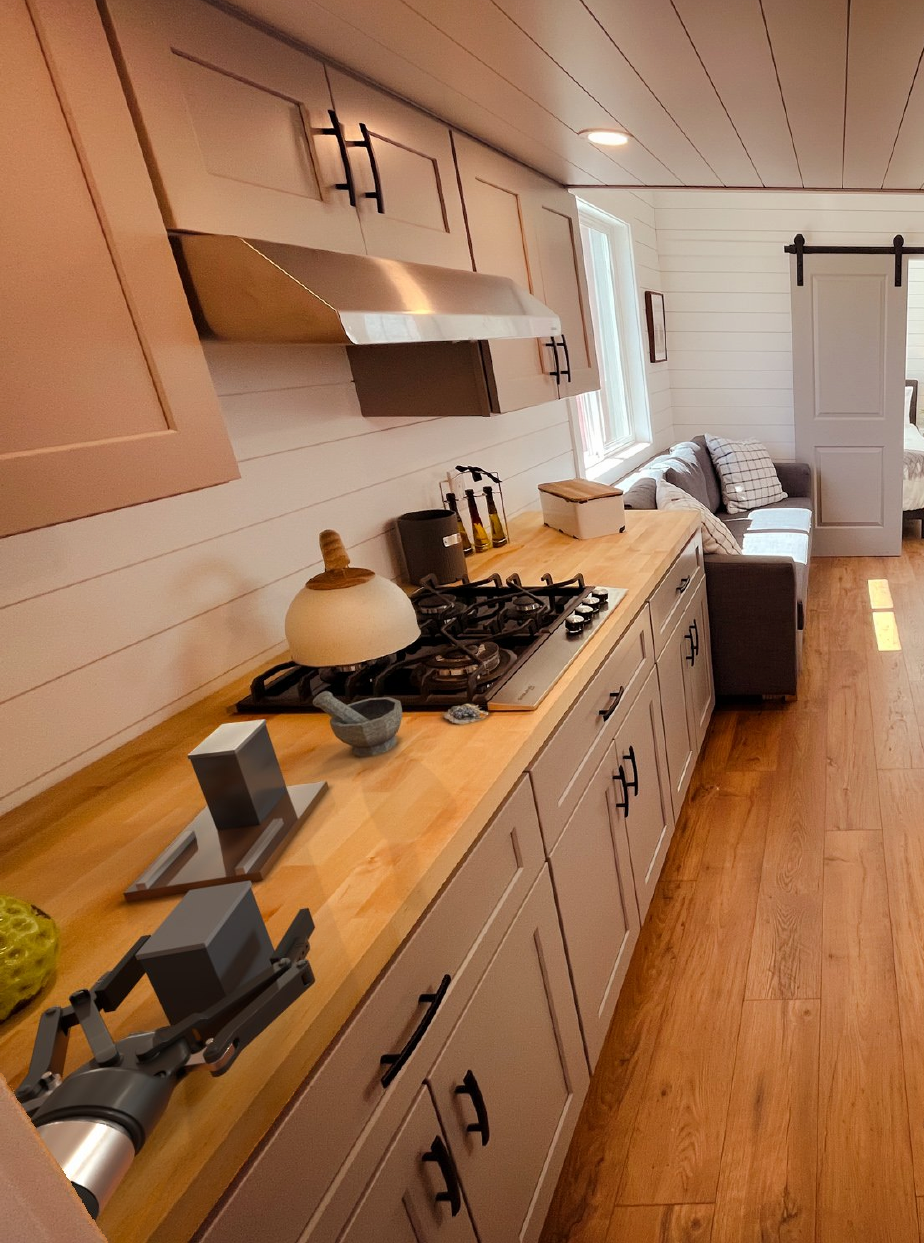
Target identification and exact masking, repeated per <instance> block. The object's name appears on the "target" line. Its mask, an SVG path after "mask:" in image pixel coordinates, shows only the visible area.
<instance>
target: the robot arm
mask: <svg viewBox="0 0 924 1243" xmlns="http://www.w3.org/2000/svg"><path fill="white" fill-rule="evenodd" d="M315 929H316V925H315V922H314V919H313V916H312V913H311V911H310V907H305V908H300V909H299V910H298V912H297V914H296V915H295V917H294V919H293V920H292V922H291V923H290V925H289V927H288V928H287V930H286V931H285V933H284V935H282V936H283V937H282V938H281V940H280V941H279V943H278V945H277V946H276V948H274V950H275V951H274V953H273V954H272V956H271V957H270V962H271V965H272V966H270V967H269V968H267V969H266V970H264V971H263V972H261V973H260V974H259V975H257V976H256V977H254V978H253V979H251V980H250V981H248V982H247V983H245V984H244V985H242V986H241V987H239V988H238V989H236V990H235V991H233V992H232V993H230V994H229V995H227V996H226V997H224V998H223V999H221V1000H220V1001H218V1002H217V1003H215V1004H214V1005H212V1006H211V1007H209V1008H208V1009H207V1010H205V1011H204V1012H202V1013H193V1014H191V1015H190V1016H188V1017H187V1018H185V1019H184V1020H182V1021H181V1022H179V1023H178V1024H176V1025H175V1026H174V1025H170V1024H169V1025H166V1026H162V1027H159V1028H156V1029H153V1030H141V1031H136V1032H131V1033H129V1034H128V1036H127V1037H123V1038H122V1039H119V1040H118V1041H116V1042H115V1041H114V1039H113V1036H112V1035H111V1033H110V1031H109V1029H108V1027H107V1025H106V1022H105V1020H104V1019H103V1016H102V1015H101V1011H102V1010H103V1012H104V1014H106V1013H113V1012H116V1011H117V1010H118V1008H119V1007H120V1006H121V1004H122V1003H123V1002H124V1001H125V999H126V998H127V997H128V996H129V995H130V993H132V990H133V989H134V988H135V987H136V986H137V984H138V983H139V982H140V981H141V979H142V978H143V977H144V975H145V974H146V972H145V970H144V968H143V965H142V963H141V961H140V960H137V958H136V956H135V955H136V954H137V952H138V951H139V950H140V949H141V948H142V946H143V945H144V944H145V943H146V942H147V940H148V939H149V938H150V937H151V936H152V934H146V935H141V936H140V937H139V938H138V939H137V940H136V941H135V943H134V944H133V945H132V946H131V947H130V948H129V950H128V951H127V952H126V953H125V954H124V956H123V957H122V958H121V959H120V961H118V962H117V964H116V965H115V966H114V967H113V968H112V969H111V970H108V971H106V972H105V973H103V974H102V975H101V976H100V977H99V978H98V979H97V981H95V983H94V984H93V985H92V986H91V988H90V989H88V988H81V989H78V990H76V991H74V992H73V993H72V994H70V995H69V997H68V1001H69V1002H70V1005H67V1006H64V1007H62V1006H61V1005H54V1006H51V1007H49V1008H47V1009H46V1010H44V1011H43V1012H42V1013H41V1015H40V1019H39V1022H38V1027H37V1032H36V1036H35V1040H34V1043H33V1044H34V1045H33V1049H32V1053H31V1059H30V1064H29V1067H28V1072H27V1074H26V1076H25V1077H24V1078H23V1079H22V1081H21V1083H20V1084H19V1085H18V1086H17V1088H15V1091H14V1092H13V1094H15V1096H16V1098H17V1100H18V1101H19V1102H20V1103H21V1106H22V1107H23V1108H24V1110H25V1111H26V1113H27V1115H28V1116H29V1117H30V1118H29V1119H31V1122H32V1123H33V1124H34V1126H35V1127H36V1130H37V1132H38V1133H39V1134H40V1136H41V1139H42V1140H43V1141H44V1143H46V1147H47V1148H48V1149H49V1151H50V1152H51V1154H52V1155H53V1157H54V1158H55V1159H56V1161H57V1163H59V1165H60V1167H61V1168H62V1170H63V1171H64V1173H65V1174H66V1177H67V1178H68V1179H69V1180H70V1181H71V1183H72V1186H73V1187H74V1188H75V1190H76V1192H77V1194H78V1196H79V1197H80V1198H81V1199H82V1203H84V1205H85V1207H86V1209H87V1211H88V1213H89V1214H90V1215H91V1217H92V1219H94V1220H95V1223H96V1222H97V1220H98V1219H99V1217H100V1216H101V1213H102V1212H103V1211H104V1209H105V1207H106V1206H107V1204H108V1203H109V1201H110V1199H111V1198H112V1196H113V1195H114V1193H115V1191H117V1188H118V1187H119V1185H120V1183H121V1182H122V1181H123V1179H124V1177H125V1175H126V1174H127V1172H128V1171H129V1170H130V1167H131V1166H132V1164H133V1162H134V1160H135V1157H136V1156H137V1155H138V1154H140V1152H141V1151H142V1150H143V1148H144V1146H145V1145H146V1143H147V1142H148V1139H150V1136H151V1135H152V1133H153V1132H154V1130H155V1129H156V1127H157V1125H158V1124H159V1122H160V1121H161V1119H162V1117H163V1116H164V1114H165V1113H166V1111H167V1108H168V1106H169V1103H170V1101H171V1098H172V1095H173V1092H174V1090H175V1089H176V1087H177V1086H179V1084H180V1083H181V1082H182V1081H183V1080H185V1079H186V1078H187V1077H188V1076H189V1075H191V1073H197V1072H205V1071H206V1072H207V1071H209V1074H210V1075H211V1077H212V1078H218V1077H221V1076H223V1075H225V1074H226V1073H227V1072H228V1071H229V1070H230V1068H232V1066H233V1064H234V1063H235V1062H236V1060H237V1059H238V1057H239V1055H240V1054H241V1053H242V1052H243V1050H244V1049H245V1048H247V1047H248V1046H249V1045H250V1044H251V1043H252V1042H253V1041H254V1040H256V1038H257V1037H259V1035H260V1034H262V1033H263V1032H264V1031H265V1030H266V1029H267V1028H268V1027H269V1026H270V1025H271V1024H272V1023H273V1022H274V1021H276V1019H278V1018H279V1017H280V1016H281V1015H282V1014H283V1013H284V1012H285V1011H287V1009H288V1008H289V1007H290V1006H292V1005H293V1004H294V1003H295V1002H296V1001H297V1000H298V999H299V998H300V997H301V996H302V995H303V994H305V992H306V991H307V990H308V989H310V988H311V987H312V986H313V985H314V984H315V983H316V977H315V974H314V972H313V969H312V965H311V963H310V960H309V959H308V958H307V956H308V954H309V952H310V951H311V945H310V941H309V940H310V937H311V936H312V934H313V933H314V931H315ZM78 1025H80V1027H81V1029H82V1032H83V1033H84V1035H85V1038H86V1040H87V1043H88V1045H89V1046H88V1047H89V1048H90V1050H91V1053H92V1054H93V1058H91V1059H90V1060H88V1061H87V1062H86V1063H84V1064H82V1065H81V1066H80V1067H78V1068H77V1069H75V1070H74V1071H72V1072H71V1073H70V1074H69V1075H67V1076H66V1077H65V1078H64V1079H63V1077H64V1071H65V1064H66V1059H67V1054H68V1047H69V1043H70V1042H69V1041H70V1037H71V1036H70V1035H71V1031H72V1027H75V1026H78ZM191 1030H193V1033H194V1035H195V1037H196V1042H195V1043H194V1044H193V1045H191V1046H189V1043H188V1040H187V1038H186V1036H185V1034H186V1033H188V1032H189V1031H191Z"/></svg>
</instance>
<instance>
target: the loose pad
mask: <svg viewBox="0 0 924 1243" xmlns="http://www.w3.org/2000/svg"><path fill="white" fill-rule="evenodd" d="M252 886H253V882H251V881H244V882H238V883H232V884H225V885H219V886H213V887H207V888H200V889H194V890H189V891H188V893H185V895H184V896H183V897H182V898H181V900H180V901H179V902H178V903H177V905H175V906H174V908H173V909H172V910H171V912H170V913H168V915H167V916H166V917H165V919H164V920H162V922H161V923H160V925H159V926H158V927H157V928H156V929H155V931H154V932H153V933H152V934H151V937H150V938H149V939H148V940H147V942H146V943H145V944H144V945H143V946H142V948H141V949H140V950H139V951H138V952H137V954H136V955H135V956H136V958H137V960H140V961H141V963H142V965H143V968H144V970H145V972H146V973H145V974H146V976H147V978H148V980H149V983H150V985H151V987H152V989H153V991H154V994H155V996H156V998H157V999H158V1002H159V1004H160V1006H161V1008H162V1010H163V1012H164V1015H165V1017H166V1019H167V1021H168V1023H169V1026H170V1025H174V1026H175V1025H176V1024H178V1023H179V1022H181V1021H182V1020H184V1019H185V1018H187V1017H188V1016H190V1015H191V1014H193V1013H202V1012H204V1011H205V1010H207V1009H208V1008H209V1007H211V1006H212V1005H214V1004H215V1003H217V1002H218V1001H220V1000H221V999H223V998H224V997H226V996H227V995H229V994H230V993H232V992H233V991H235V990H236V989H238V988H239V987H241V986H242V985H244V984H245V983H247V982H248V981H250V980H251V979H253V978H254V977H256V976H257V975H259V974H260V973H261V972H263V971H264V970H266V969H267V968H269V967H270V966H272V965H271V962H270V957H271V956H272V954H273V953H274V951H275V948H274V945H273V943H272V940H271V937H270V935H269V932H268V929H267V926H266V924H265V922H264V918H263V916H262V913H261V910H260V908H259V905H258V901H257V899H256V897H255V894H254V891H253V888H252ZM185 1036H186V1038H187V1040H188V1043H189V1046H191V1045H193V1044H194V1043H195V1042H196V1037H195V1035H194V1033H193V1030H191V1031H189V1032H188V1033H186V1034H185Z"/></svg>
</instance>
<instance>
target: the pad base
mask: <svg viewBox="0 0 924 1243" xmlns="http://www.w3.org/2000/svg"><path fill="white" fill-rule="evenodd" d="M276 754H277V753H276V751H275V747H274V745H273V741H272V739H271V736H270V733H269V730H268V727H267V720H266V719H256V720H248V721H247V720H246V721H240V722H229V723H228V722H227V723H221V725H219V726H218V727H217V728H216V729H215V730H214V731H212V732H211V733H210V735H208V736H207V737H206V738H204V740H202V741H201V743H199V744H198V745H197V746H196V747H195V748H193V749H192V750H191V751H190V752H189V753H188V754H187V755H186V757H187V759H188V760H189V761H190V763H191V766H192V768H193V771H194V774H195V776H196V780H197V782H198V784H199V786H200V790H201V792H202V795H203V798H204V800H205V802H206V806H205V807H204V808H203V809H202V810H201V811H200V812H199V813H198V814H197V815H196V816H195V817H194V818H193V819H192V820H191V821H190V823H188V824H187V826H185V827H184V829H183V830H182V831H181V832H180V833H179V834H178V835H177V836H176V837H175V838H174V839H173V840H172V841H171V843H170V844H169V845H168V846H167V847H166V848H165V849H164V850H163V851H162V852H161V853H160V854H159V855H158V856H157V857H156V858H155V859H154V860H153V862H151V863H150V864H149V865H148V866H147V868H145V870H144V871H143V872H142V873H141V874H140V875H139V876H138V877H137V878H136V879H135V880H134V881H133V882H132V883H131V884H130V886H129V887H128V888H126V890H125V891H123V893H122V894H123V897H124V899H125V901H126V903H132V902H137V901H144V900H151V899H156V898H163V897H169V896H176V895H181V894H187V893H188V891H189V890H194V889H200V888H207V887H213V886H219V885H225V884H232V883H238V882H244V881H251V883H258V882H263V881H265V879H266V878H267V877H268V875H269V873H270V872H271V871H272V870H273V868H274V867H275V865H276V864H277V862H278V861H279V860H280V859H281V857H282V855H283V854H284V852H285V851H286V850H287V849H288V847H289V846H290V844H291V843H292V842H293V840H294V839H295V837H296V836H297V835H298V833H299V832H300V830H301V829H302V828H303V826H304V824H306V822H307V821H308V819H309V817H311V815H312V813H313V812H314V811H315V809H316V808H317V806H319V804H320V802H321V801H322V799H323V798H324V797H325V795H326V794H327V793H328V791H329V789H330V787H329V783H328V781H327V780H324V781H316V782H308V783H299V784H294V785H286V782H285V778H284V776H283V772H282V770H281V766H280V763H279V760H278V757H277V755H276Z"/></svg>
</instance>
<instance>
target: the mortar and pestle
mask: <svg viewBox="0 0 924 1243" xmlns="http://www.w3.org/2000/svg"><path fill="white" fill-rule="evenodd" d="M312 705H313V706H314V707H316V708H320V710H322V711H324V713H326V714H327V715H328V716H329V717H330V720H329V724H330V728H331V730H332V732H333V734H334V737H335V738H337V739H338V740H339V741H341V742H342V743H343V744H345V745H348V746H350V747H352V754H353V755H355V756H357V757H359V758H361V757H373V756H377V755H381V754H383V753H386V752H388V751H390V750H391V749H392V748H394V747H395V746H397V741H398V738H397V736H396V734H397V733H398V732H399V730H400V727H401V724H402V719H403V707H402V703H401V700H398V699H396V698H393V697H390V696H385V697H369V698H365V699H362V700H359V701H355V702H351V703H349V704H346V703H343V702H342V701H341V700H339V699H337V698H336V697H335V696H334V695H333V693H332V692H330V691H328V690H324V691H321V692H320V693H319V694H317V695H316V696H315V697H314V699H313V700H312Z"/></svg>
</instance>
